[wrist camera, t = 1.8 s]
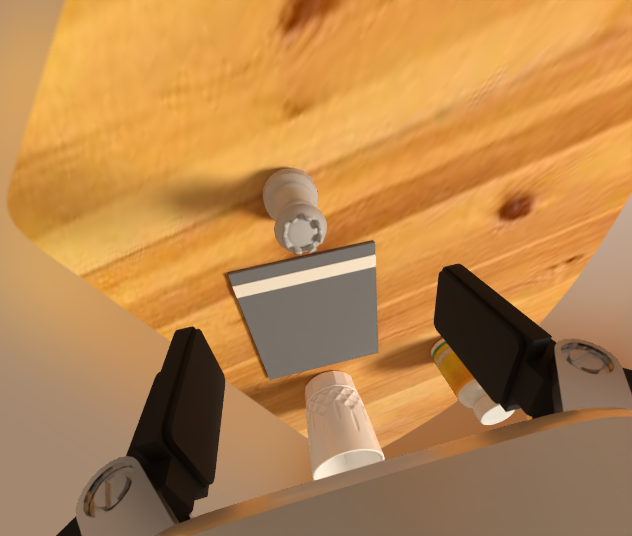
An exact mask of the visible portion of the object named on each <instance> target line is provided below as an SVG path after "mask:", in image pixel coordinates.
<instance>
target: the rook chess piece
mask: <svg viewBox="0 0 632 536" xmlns="http://www.w3.org/2000/svg"><path fill="white" fill-rule="evenodd" d="M262 197H263V202H264V206H265V209H266V211H267V212H268V214H269V215H270V217H271V218H272V219H274V220H275V221H276V223H275V227H274V232H275V237H276V239H277V241H278V242H279V244H280V245H281V246H282V247H283V248H285V249H287V250H288V251H291V252H294V254H298V255H302V253H303V252H308V251H309V254H310V253H312V252H314V251H316V247H318V246H319V244H320V243H321V244H322V242H323V240H324V238H325V235H326V232H327V222H326V219H325V217H324V215H323V213H322V212H321V211H320V210H318V209H317V208H316V207H317V204H318V191H317V189H316V186H315V184H314V182H313V180H312V178H311V177H310V176H309V175H307V174H306V173H305V172H304V171H302V170H298V169H294V168H287V169H280V170H279V171H277V172H275V173H274V174H272V175H271V176H270V177H269V179H268V180H267V181H266V183H265V184H264V189H263V194H262Z"/></svg>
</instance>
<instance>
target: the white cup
mask: <svg viewBox="0 0 632 536" xmlns="http://www.w3.org/2000/svg"><path fill="white" fill-rule="evenodd" d="M305 401H306V418H307V429H308V439H309V448H310V457H311V466H312V476H313V480H314V481H315V480H318V479H321V478H325V477H328V476H332V475H335V474H339V473H342V472H345V471H349V470H352V469H356V468H359V467H363V466H366V465H370V464H373V463H377V462H380V461H384V460H385V458H384V455H383V452H382V450H381V447H380V445H379V442H378V440H377V437H376V435H375V432H374V429H373V427H372V424H371V422H370V419H369V417H368V415H367V413H366V410H365V407H364V405H363V403H362V400H361V398H360V396H359V394H358V392H357V390H356V388H355V385H354V383H353V380H352V378H351V376H350V375H348V374H347V373H345V372H343V371H329V372H324V373H321V374H319V375H317V376H315V377H314V378H312V379H311V380H310V381H309V382H308V384H307V385H306V387H305Z"/></svg>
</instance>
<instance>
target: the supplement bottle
mask: <svg viewBox="0 0 632 536" xmlns="http://www.w3.org/2000/svg"><path fill="white" fill-rule="evenodd" d="M431 357H432V359H433V361H434V363H435V364H436V366H437V367H438V369H439V370H440V372H441V373H442V375H443V376H444V378H445V379H446V381H447V382H448V384H449V386H450V387H451V389H452V390H453V392H454V393H455V395H456V396H457V398H458V399H459V401H460V402H461V403H462V404H463V405H465V406H466V407H469V408H473V410H474V414H475V415H476V416H477V418H478V419H479V421H480V422H481V423H482V424H484V425H492V424H496V423H498V422H501V421H503V420H505V419H506V418H508V417H509V416H510V415H511V414H512V413H513V412H514V410H512V411H508V412H505V410H504V409H503V408H502V407H501V405H500V404H496V403H494V402H493V401H492V400H491V399H490V397H489V396H488V395H487V393H486V392H485V391H484V390H483V388H482V387H481V386H480V385H479V383H478V382H477V381H476V380H475V378H474V377H473V376H472V374H471V373H470V372H469V371H468V369H467V368H466V367H465V366H464V364H463V363H462V362H461V360H460V359H459V358H458V357H457V355H456V354H455V353H454V352H453V350H452V349H451V348H450V347H449V345H448V344H447V343H446V341H445V340H444V339H443V338H442V339H441V340H439V341H438V342H436V343H435V345H434V346H433V348H432V350H431Z"/></svg>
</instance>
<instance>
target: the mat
mask: <svg viewBox="0 0 632 536" xmlns="http://www.w3.org/2000/svg"><path fill="white" fill-rule="evenodd" d="M228 276H229V279H230V281H231V284H232V287H233V290H234V292H235V295H236V297H237V299H238V302H239V304H240V307H241V309H242V312H243V314H244V317H245V319H246V322H247V324H248V327H249V329H250V332H251V334H252V337H253V339H254V342H255V344H256V347H257V349H258V352H259V355H260V357H261V360H262V362H263V365H264V367H265V370H266V372H267V375H268V377H269V380H272V379H276V378H280V377H283V376H287V375H291V374H295V373H299V372H303V371H307V370H311V369H315V368H319V367H323V366H327V365H331V364H335V363H339V362H343V361H347V360H351V359H355V358H359V357H363V356H367V355H371V354H375V353H378V325H377V293H376V254H375V242H374V241H369V242H365V243H360V244H356V245H351V246H347V247H342V248H338V249H333V250H329V251H324V252H320V253H315V254H311V255H306V256H302V257H297V258H293V259H288V260H284V261H279V262H275V263H270V264H266V265H261V266H256V267H252V268H247V269H243V270H238V271H234V272H229V273H228Z"/></svg>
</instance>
